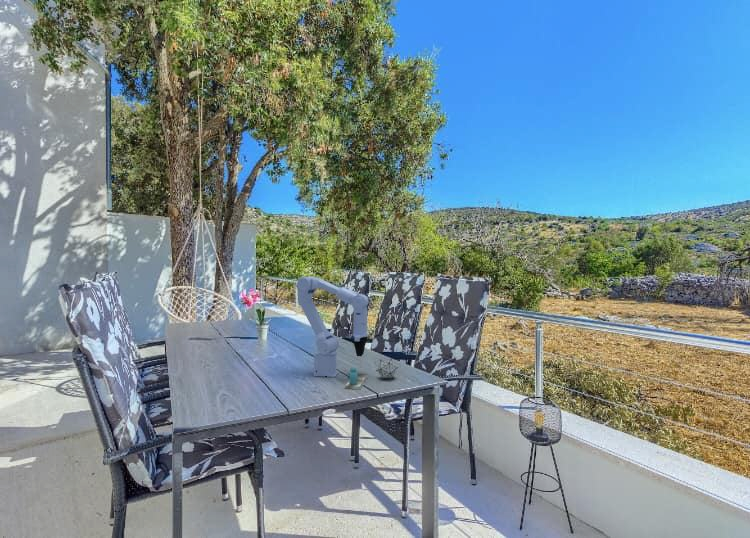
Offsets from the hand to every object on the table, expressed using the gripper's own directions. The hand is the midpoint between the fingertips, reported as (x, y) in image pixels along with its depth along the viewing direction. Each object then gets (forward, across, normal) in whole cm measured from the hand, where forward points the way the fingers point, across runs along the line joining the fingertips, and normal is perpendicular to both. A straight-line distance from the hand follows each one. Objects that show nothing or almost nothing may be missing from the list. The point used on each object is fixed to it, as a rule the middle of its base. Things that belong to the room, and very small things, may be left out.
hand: (360, 355), depth 169 cm
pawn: (+8, -14, 0) cm, 16 cm away
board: (+9, -7, 0) cm, 12 cm away
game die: (+10, 0, -12) cm, 15 cm away
